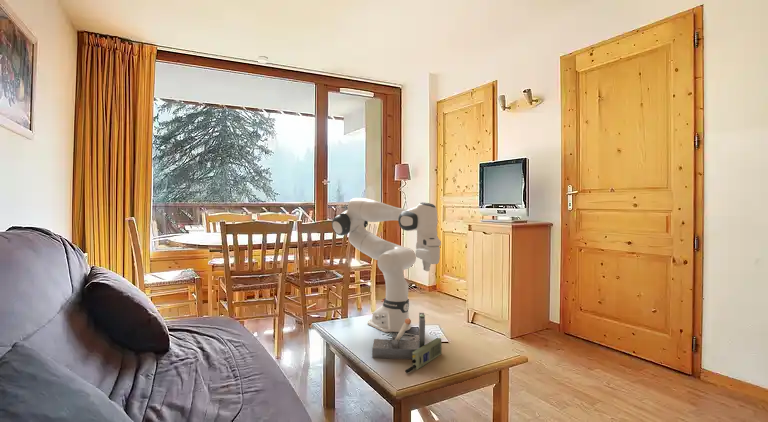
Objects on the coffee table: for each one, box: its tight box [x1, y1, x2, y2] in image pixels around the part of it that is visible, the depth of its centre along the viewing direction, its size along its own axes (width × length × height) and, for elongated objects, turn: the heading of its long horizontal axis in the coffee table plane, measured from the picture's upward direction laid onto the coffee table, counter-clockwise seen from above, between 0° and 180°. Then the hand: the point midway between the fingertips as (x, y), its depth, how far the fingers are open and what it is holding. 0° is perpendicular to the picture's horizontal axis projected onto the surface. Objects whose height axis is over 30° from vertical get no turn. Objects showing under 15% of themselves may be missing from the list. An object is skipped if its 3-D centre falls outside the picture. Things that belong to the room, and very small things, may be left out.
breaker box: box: [371, 312, 426, 360], centre depth 168 cm, size 21×10×17 cm, turn 87°
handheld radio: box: [404, 337, 443, 374], centre depth 159 cm, size 7×3×25 cm
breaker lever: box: [395, 317, 412, 343], centre depth 167 cm, size 3×3×12 cm
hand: (426, 270), depth 179 cm, fingers closed
